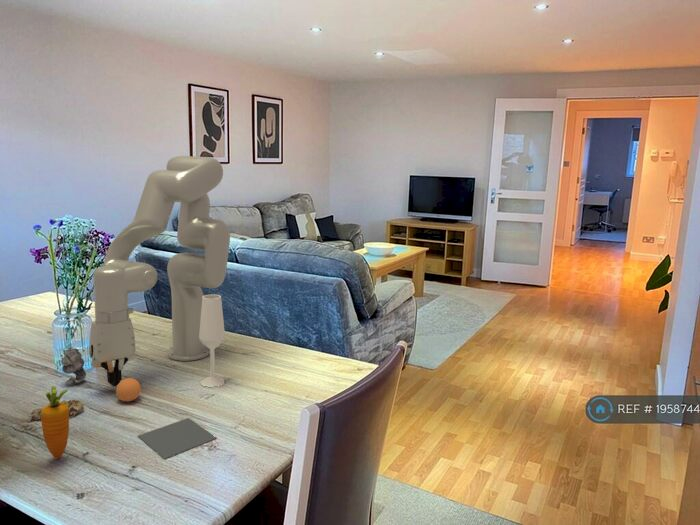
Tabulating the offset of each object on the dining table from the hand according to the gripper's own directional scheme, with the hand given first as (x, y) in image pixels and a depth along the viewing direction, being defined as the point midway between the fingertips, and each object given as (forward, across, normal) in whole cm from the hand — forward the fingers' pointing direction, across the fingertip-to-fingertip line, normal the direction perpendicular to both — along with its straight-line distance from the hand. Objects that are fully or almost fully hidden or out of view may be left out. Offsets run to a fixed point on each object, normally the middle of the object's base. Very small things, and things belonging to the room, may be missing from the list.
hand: (114, 384), depth 132 cm
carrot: (+2, +20, +24) cm, 32 cm away
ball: (-1, 0, +8) cm, 8 cm away
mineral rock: (+2, +14, +4) cm, 15 cm away
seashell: (+2, +6, -11) cm, 13 cm away
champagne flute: (+2, -21, +12) cm, 24 cm away
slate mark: (+2, -1, +32) cm, 32 cm away
